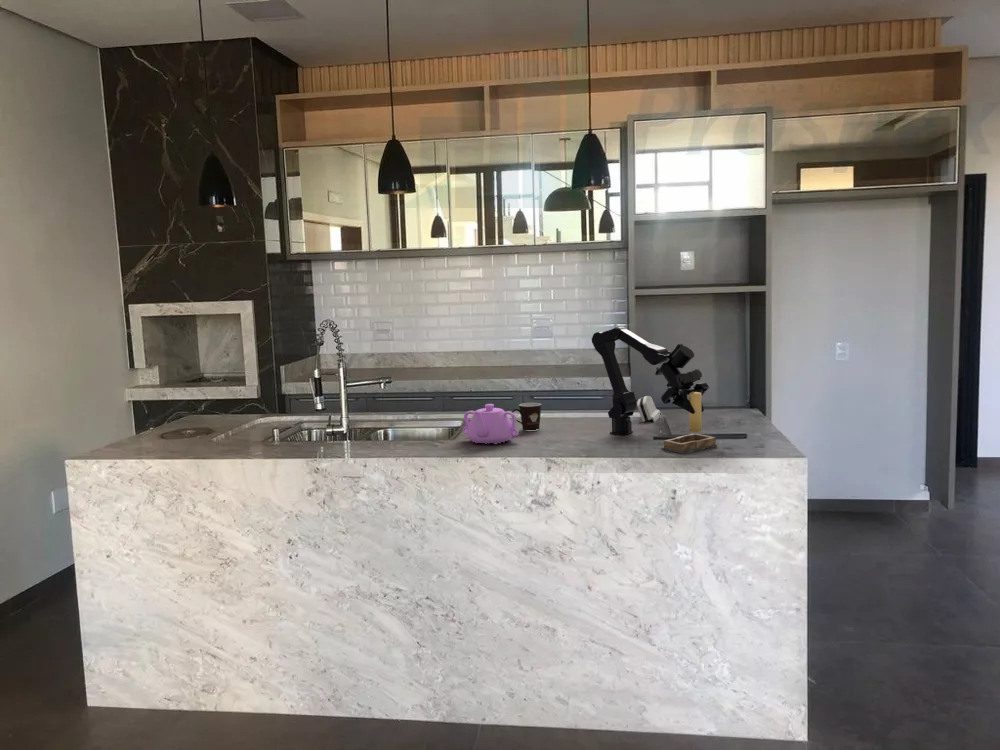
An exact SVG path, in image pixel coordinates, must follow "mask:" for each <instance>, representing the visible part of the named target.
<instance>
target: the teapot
mask: <svg viewBox="0 0 1000 750" xmlns="http://www.w3.org/2000/svg"><path fill="white" fill-rule="evenodd" d="M469 414H471V415H472V416H471V418H470V420H469V417H468V416H469ZM463 415H464V416H463V420H464V424H465V426H464V427H463V428H462V433H463V434H464V435H466V436H467V438H468V439H469V440H470V441H471V442H472V443H474V442H475V443H474V444H477V443H485V444H484V445H490V444H489V443H499V444H502V443H501V442H503V443H506V442H505V441H507V442H509V441H510V439H511V438H512V437H517V436H518V435H519V434H520V433H519V432H520V431H519V430H518V428H515V427H516V424H517V421H516V420H517V415H516V414H515V413H514V412H513V413H512V411H508V410H507V411H505V410H504V409H503V408H499V407H495V404H494V403H486V404H484V407H483V408H479V409H476V410H468V411H466V412H465V413H464V414H463ZM509 416H511V418H512V420H511V419H510V417H509ZM508 440H509V441H508ZM487 443H488V444H487Z"/></svg>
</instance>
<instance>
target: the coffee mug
mask: <svg viewBox="0 0 1000 750" xmlns="http://www.w3.org/2000/svg"><path fill="white" fill-rule="evenodd" d="M518 407H519V409H518V408H514V409H513V410H511V412H512V413H514V412H516V411H517V412H519V414H520V420H521V421H520V420H518V419H516V423H517V422H518V423H519V424H521V426H522V430H523V429H524V430H536V429H539V430H540V427H541V426H540V425H541V415H542V414H541V412H542V411H541V410H542V403H539V402H525V403H524V402H523V403H520V404H518Z"/></svg>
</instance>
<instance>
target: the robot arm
mask: <svg viewBox="0 0 1000 750" xmlns="http://www.w3.org/2000/svg"><path fill="white" fill-rule="evenodd" d="M618 340H619V341H621V342H623V343H624V344H626V345H627V346H629V347H630V348H632V349H634V350H635V351H637V352H639V353H640V354H641V355H642V357H643V359H644V360H645V361H646V362H648V363H649V364H650V365H652V366H657V365H660V367H656V370H655V374H654V375H655V376H663V378H664V379H665V381H666V382H667V384H666V387H667V389H665V391H664V392H663V394H661V397H660V399H661V401H662V403H663V404H664V405H665V404H666V405H667V404H670V403H671V399H672V400H673V401H672V403H671V404H672V405H675V406H677V407H679V408H681V409H683V410H685V411H686V412H688V413H689V412H690V413H692V414H694V413H695V411H694V409H693V407H692V405H691V404H690V402H689V399H688V397H689V393H691V392H699V393H701V397H702V396H703V395H705V394H706V392H707V391H708V390H709V389H710V386H709V385H708V384H707V382H698V383H696V384H695V382H696V381H700V380H701V378H702V377H703V373H702V372H701V370H700V369H699V368H696V369H694V370H692V371H687V372H686V373H682V372H681V370H680V369H684V368H685V367H686V366H687V365H688V364H689V362H691V361H692V359H694V357H695V353H694V351H693V350H692V349H690V348H689V347H688V346H685V345H684V344H683V343H679V344H677V345H676V347H674V349H673V350H672V351H669V350H668V349H667V348H666V347H663V346H661V345H658V344H653V343H650V342H648V341H647V340H645V339H643V338H642V337H641V336H639V335H637V334H635V333H634V332H632V331H630V330H629V329H627V327H625V326H615V327H614V328H612V329H609V330H602V331H597V332H594V333H593V334H592V337H591V343H592V345H593V347H594V349H595V351H596V352H597V353H598V354H599V355H600V356H601V358H602V361H603V365H604V367H605V370H606V373H607V377H608V380H609V383H610V385H611V388H612V392H613V393H612V400H611V401H612V405H613V406H612V407H611V408H610V410H609V411H608V412H607V415H608V418H610V419H611V431H609V434H612V435H621V436H626V435H628V434H632V433H633V432H634V431H633V430H632V429H633V428H632V427H633V425H632V420H631V417H632V416H634V413H635V410H636V408H638V407H637V403H638V400H637V398H636V395H635V392H634V391H632V390H631V391H630V390H628V388H627V387H626V383H625V381H624V378H623V377H624V376H623V375H622V371H621V368H620V365H619V363H618V360H617V356H616V354H615V350H616V341H618ZM704 410H705V409H704V406H703V402H702V400H701V413H703V412H704Z"/></svg>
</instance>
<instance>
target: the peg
mask: <svg viewBox="0 0 1000 750" xmlns="http://www.w3.org/2000/svg"><path fill="white" fill-rule="evenodd" d="M688 398H689V399H688V400H689V402H690V404H691V405H692V407H693V409H694V411H695V413H694V414H692V413H690V412H688V413H689V414H688V416H689V417H688V418H689V421H688V422H689V424H688V425H689V427H688V428H689V429H688V430H689V431H688V432H692V433H698V432H699V433H701V432H702V431H703V430H702V428H703V427H702V424H703V423H702V417H703V416H702V412H701V401H702V396H701V393H699V392H691V393H689V396H688Z"/></svg>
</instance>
